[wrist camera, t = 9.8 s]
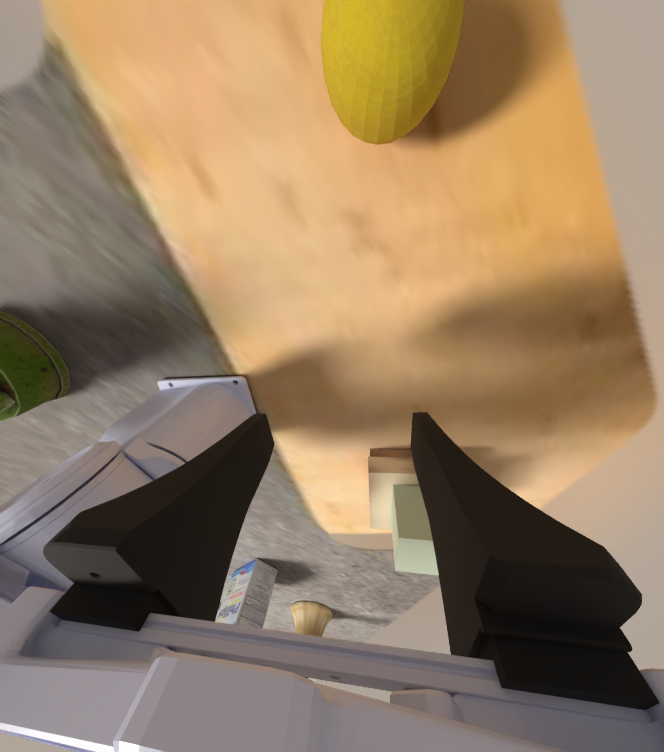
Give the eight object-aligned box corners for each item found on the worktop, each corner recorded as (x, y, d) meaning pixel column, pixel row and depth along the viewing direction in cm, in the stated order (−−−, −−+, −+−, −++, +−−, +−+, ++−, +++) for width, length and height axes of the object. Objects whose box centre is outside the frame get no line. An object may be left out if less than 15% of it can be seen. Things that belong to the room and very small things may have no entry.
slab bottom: (372, 497, 31) (372, 512, 29) (369, 443, 27) (370, 457, 25) (447, 499, 30) (452, 515, 28) (456, 443, 26) (463, 458, 24)
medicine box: (257, 556, 40) (232, 629, 33) (279, 568, 41) (259, 641, 34) (234, 570, 44) (206, 638, 36) (254, 581, 45) (231, 650, 37)
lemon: (455, 66, 13) (563, -147, 6) (393, 183, 15) (416, 132, 8) (366, -6, 12) (367, -346, 5) (316, 130, 15) (272, 26, 8)
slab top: (370, 511, 29) (370, 528, 28) (368, 456, 25) (368, 472, 23) (449, 515, 28) (455, 533, 26) (461, 458, 24) (469, 475, 22)
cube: (390, 516, 26) (395, 570, 22) (392, 484, 24) (398, 537, 19) (439, 520, 25) (455, 577, 21) (447, 487, 23) (465, 543, 19)
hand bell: (342, 615, 47) (332, 771, 33) (311, 622, 51) (290, 766, 37) (313, 597, 45) (289, 756, 31) (282, 604, 48) (249, 751, 34)
